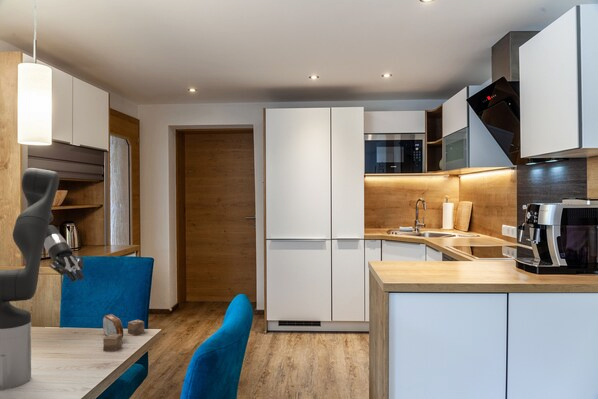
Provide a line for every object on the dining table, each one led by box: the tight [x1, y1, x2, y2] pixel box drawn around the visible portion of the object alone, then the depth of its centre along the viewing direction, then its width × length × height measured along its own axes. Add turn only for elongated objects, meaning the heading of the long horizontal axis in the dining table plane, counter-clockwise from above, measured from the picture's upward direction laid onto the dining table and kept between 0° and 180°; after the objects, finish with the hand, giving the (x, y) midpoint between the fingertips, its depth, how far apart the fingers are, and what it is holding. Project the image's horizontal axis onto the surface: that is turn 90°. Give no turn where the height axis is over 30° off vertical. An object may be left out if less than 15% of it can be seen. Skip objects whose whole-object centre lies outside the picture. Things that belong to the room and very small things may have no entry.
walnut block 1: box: [102, 334, 123, 352], centre depth 145 cm, size 4×4×5 cm
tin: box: [102, 313, 124, 339], centre depth 156 cm, size 15×3×8 cm, turn 45°
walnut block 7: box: [127, 319, 145, 336], centre depth 162 cm, size 4×4×5 cm
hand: (78, 279), depth 159 cm, fingers open, 2 cm apart
